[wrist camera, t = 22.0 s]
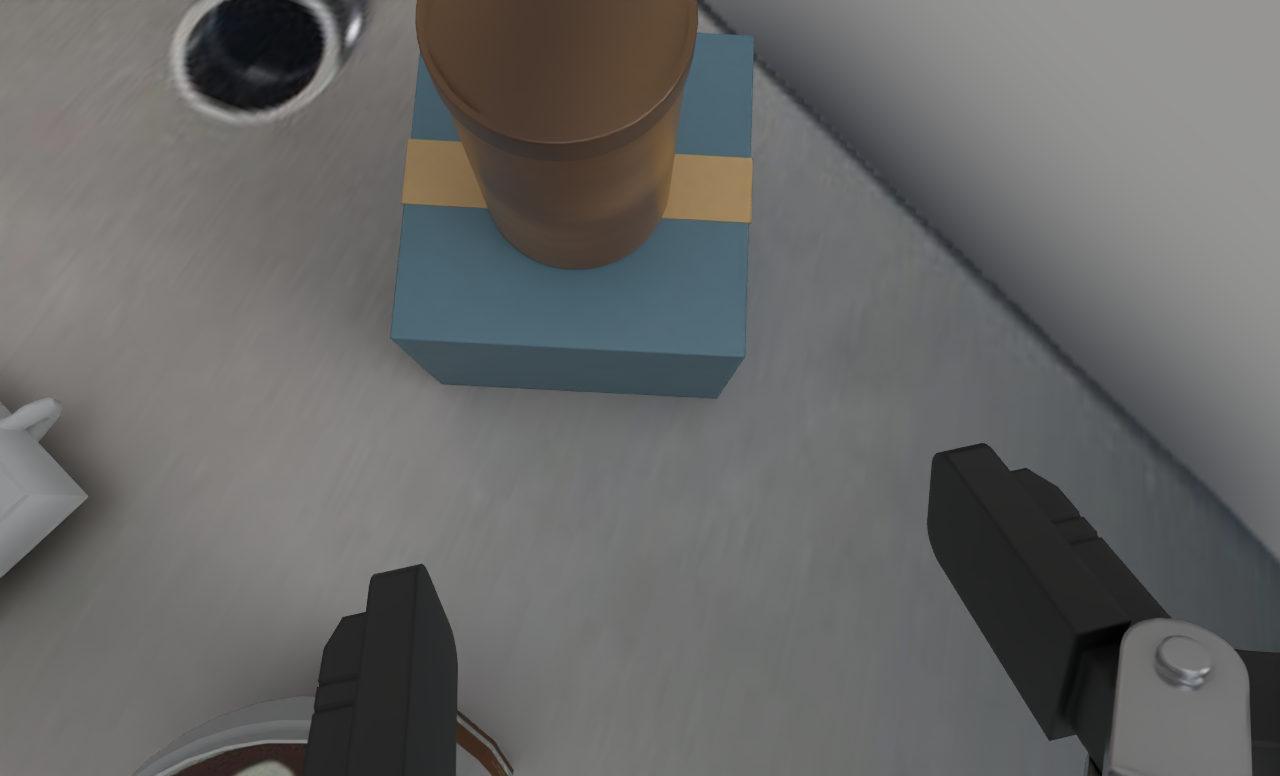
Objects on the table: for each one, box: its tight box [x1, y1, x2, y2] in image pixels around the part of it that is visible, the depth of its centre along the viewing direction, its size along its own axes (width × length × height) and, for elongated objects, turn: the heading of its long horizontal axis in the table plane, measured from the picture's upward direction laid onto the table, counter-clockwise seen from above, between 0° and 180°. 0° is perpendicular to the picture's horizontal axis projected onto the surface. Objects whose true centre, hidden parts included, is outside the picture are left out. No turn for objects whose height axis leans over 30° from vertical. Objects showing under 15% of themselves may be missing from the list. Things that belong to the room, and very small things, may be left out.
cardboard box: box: [390, 33, 754, 398], centre depth 28 cm, size 10×10×7 cm
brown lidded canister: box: [416, 0, 698, 269], centre depth 21 cm, size 6×6×8 cm
